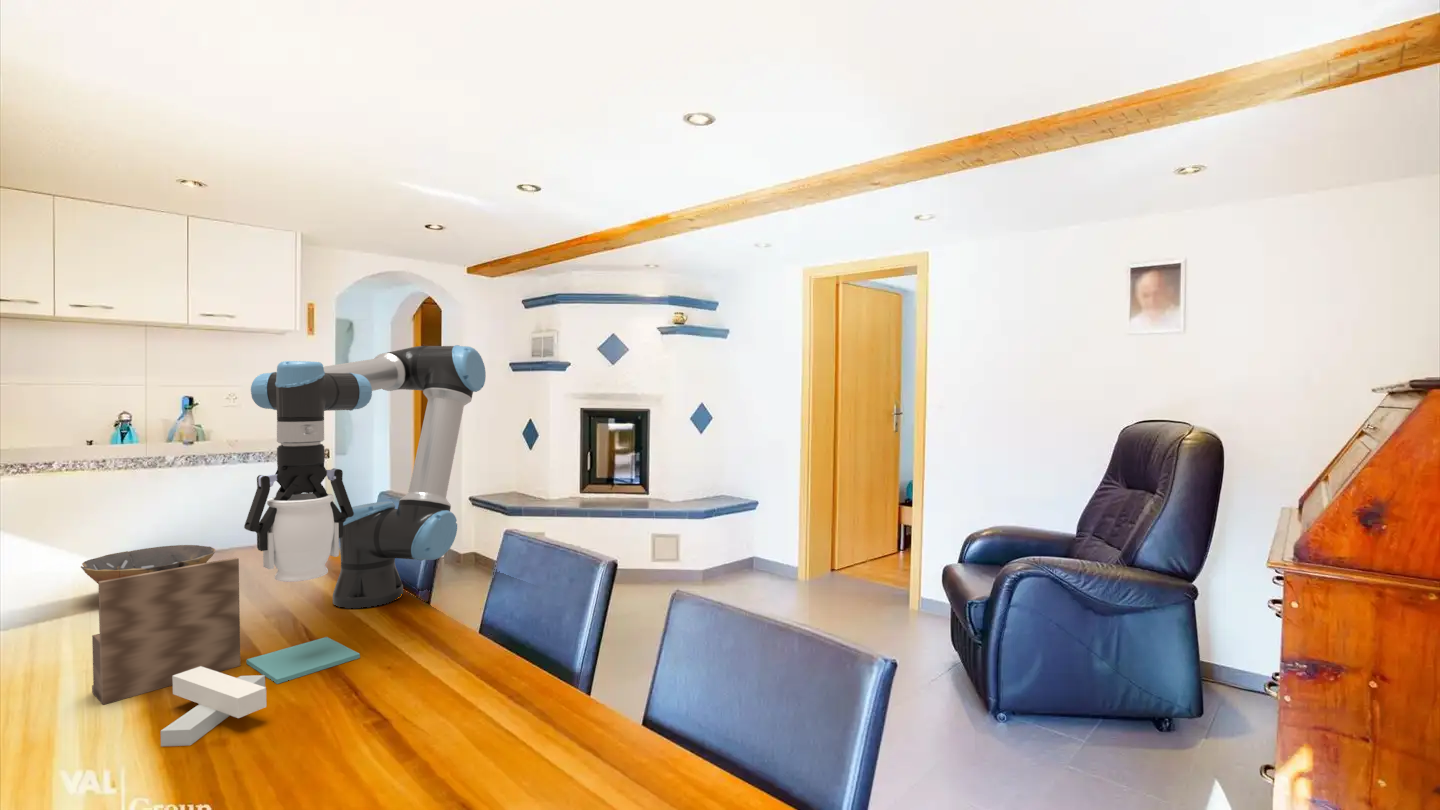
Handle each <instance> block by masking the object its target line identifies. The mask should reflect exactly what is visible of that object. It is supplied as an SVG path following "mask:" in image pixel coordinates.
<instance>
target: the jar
mask: <svg viewBox="0 0 1440 810" xmlns="http://www.w3.org/2000/svg"><path fill="white" fill-rule="evenodd" d="M327 494H328V496H326V497H322V498H317V497H316V496H315V495H314V494H313V493H301V494H297V495H293V494H292V496H291V498H290V499H288V500H287V501H278V500H274V498H275V497H276V496H274V497H270V498H267V501H266V504H267V506H268V507H269V506H270V507H272V508H277V513H276V516H275V520H274V523H273V524H272V526H271V528H270V529H269V532H273V533H274V568H275V569H277V571H276V573H275V575H274V579H275V580H276V581H278V582H286V583H287V582H290V583H291V582H293V583H294V582H304V581H309V580H314V579H317V578H318V579H319V578H321V577H323V576H325V575H327V574H328V573H329V570H328V568H327V566H326V563H327V562H328V560H329V557H330V556H331V555H330V552H331V546H332V540H333V534H334V517H333V511H332V508H331V505H330V502H332V501H333V502H334V497H335V496H334V495H333V494H331V493H327Z"/></svg>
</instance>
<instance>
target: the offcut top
mask: <svg viewBox="0 0 1440 810" xmlns="http://www.w3.org/2000/svg"><path fill="white" fill-rule="evenodd" d="M172 678H173V685H172V695H174V696H177V697H179V698H183V699H185V700H189V701H191V702H192V703H193V702H194V703H197V704H198V705H199V704H201V705H204V706H207V707H209V708H212V709H215V710H217V711H220V712H223V713H225V714H228V715H230V716H231V717H233V718H237V719H240V718H243V717H245V716H247V715H249V714H252V713H255V712H258V711H259V710H260V711H261V710H262V709H264V708H267V687H266V686H265V687H263V686H260V685H257V684H254V683H251V682H248V681H245V680H241V679H238V677H235V676H232V675H228V674H226V673H223V672H221V671H220V672H217V671H214V670H211V669H208V668H205V667H202V666H200V667H197V668H194V669H191V670H188V671H185V672H182V673H179V674H176V675H173V676H172Z"/></svg>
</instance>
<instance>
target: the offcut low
mask: <svg viewBox="0 0 1440 810" xmlns="http://www.w3.org/2000/svg"><path fill="white" fill-rule="evenodd" d="M237 678H238V679H241V680H245V681H248V682H251V683H254V684H257V685H260V686H263V687H266V676H265V675H263V674H261V675H259V674H258V675H257V674H256V675H240V676H238V677H237ZM230 716H231V715H228V714H225V713H223V712H220V711H217V710H215V709H212V708H209V707H207V706H204V705H201V704H198V705H196V706H195V707H193V708H192V709H190V710H189V711H187V712H186V713H184V714H183V715H182V716H180V717H178V718H177V719H176V720H174V721H172V722H171V723H170V724H169V725H167V726H166V727H163V729H161V730H160V747H178V746H179V747H181V746H182V747H183V746H191V745H193V744H194V743H196V742H197V741H198V740H199V739H201V738H203V737H204V736H205V735H206V734H207V733H208V732H210V731H211V730H213V729H214V728H215V727H217V726H218V725H219V724H220V723H222V722H223V721H224V720H226V719H227V718H228V717H230Z"/></svg>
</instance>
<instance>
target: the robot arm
mask: <svg viewBox="0 0 1440 810" xmlns="http://www.w3.org/2000/svg"><path fill="white" fill-rule="evenodd" d="M485 384H486V367H485V362H484V361H483V358H482V355H480V353H479V352H478V351H477V350H476V348H473V347H471V346H468V345H467V346H466V345H465V346H464V345H458V344H456V345H442V346H441V345H429V346H428V345H419V346H411V347H407V348H402V349H398V350H392V351H388V352H383V353H380V354H377V355H376V356H374V358H371V359H365V360H357V361H351V362H344V363H338V364H332V365H325V366H324V365H323V363H322V362H320V361H306V360H303V361H301V360H299V361H298V360H284V361H281V362H279V363H278V364H277V366H276V371H273V372H265V373H261V374H259V375H257V376H256V377H255V378H254V379H253V381H252V382H251V385H250V394H251V398H252V400H253V402H254V403H255V404H256V406H258V407H260V408H262V409H265V410H267V409H268V410H269V409H270V410H273V411H276V442H277V443H279V444H280V445H278V447H276V463H277V464H276V466H277V468H276V469H277V470H276V472H275V474H268V475H263V474H259V475H258V476H257V477H256V491H255V494H254V496H253V499H252V502H251V505H250V509H249V511H248V514H247V517H246V520H245V522H244V526H243V529H244V530H246V531H250V532H253V533H254V532H255V533H256V548H257V550H258V551H260V552H262V563H263V564H262V566H263V568H265V569H267V570H274V569H275V565H274V533H273V532H269V529H270V528H271V526H272V524H273V523H274V520H275V516H276V513H277V508H272V507H270V506H268V508H267V509H266V511H265V513H263V512H264V509H265V506H266V504H267V499H269V498H268V497H269V494H270V491H271V487H273V486H274V483H275V482H277V483H278V485H279V486H280V487H279V489H278V490H277V491H276V494H275V496H274V497H275V498H274V500H278V501H287V500H288V499H290V498H291V496H292V494H293V495H297V494H303V493H313V494H314V495H315V496H316V497H317V498H322V497H326V496H328V494H329V493H328V492H327V489H326V488H325V487H324V485H323V484H322V483H323V481H324V480H325V479H326V477H327V479H328V481H330V484H331V487H332V488H331V489H332V490H333V493H334V497H335V499H336V501H337V504H338V506H337V505H336V504H335V502H334V500H333V501H332V502H330V505H331V508H332V511H333V517H334V534H333V540H332V546H331V552H330V555H329V556H332V557H335V558H336V557H339V556H340V573H339V576H338V578H337V581H336V583H335V587H334V589H333V592H332V604H334V605H336V606H339V607H338V608H340V607H345V608H344V609H351V608H353V609H364V608H363V607H367V608H372V607H371V606H374V607H378V606H377V605H379V606H383V605H382V604H384V605H387V604H390V603H392V602H391V601H393V600H395V599H397V598H398V597H400V596H401V594H403V595H404V585H403V582H402V580H401V576H400V574H399V571H398V568H397V567H396V559H398V560H399V559H400V560H401V559H403V560H414V561H415V560H416V561H419V562H420V561H434V560H438V559H440V558H442V557H443V556H445V554H446V553H447V552H449V551H450V549H451V548H452V546H453V544H454V542H455V539H456V536H457V532H458V523H457V517H456V515H455V514H454V513H453V512H452V511H451V508H452V505H451V504H450V502H449V500H448V499H447V494H448V490H449V489H448V488H449V485H450V478H451V473H452V469H453V464H454V459H455V453H456V447H457V443H458V438H459V433H460V428H461V422H462V417H463V413H464V408H465V406H466V405H468V404H469V403H471V402H472V398H473V394H474V393H476V392H479V391H481V390H482V388H484V386H485ZM377 390H379V391H380V390H384V391H387V392H392V391H397V390H407V391H408V390H409V391H422V394H423V395H424V396H425V398H426V399H427V404H426V408H425V413H424V418H423V422H422V427H421V431H420V437H419V441H418V444H417V445H418V446H417V450H416V455H415V460H414V463H413V467H412V468H413V469H412V474H411V479H410V482H409V483H410V484H409V488H408V492H407V493H406V495H404V496H402V497H401V498H400V499H399V501H398V506H397V508H396V505H395V502H393V501H391V500H390V501H389V500H388V501H387V500H386V501H378V502H370V503H365V504H360V505H354V506H352V503H351V501H350V499H349V496H348V492H347V490H346V487H345V485H344V481H343V474H344V473H343V472H344V471H343V470H342V469H340V468H331V469H326V467H325V459H326V458H325V445H324V443H321V442H324V441H325V411H332V412H333V411H350V412H351V411H353V410H360V409H363V408H365V407H366V406H368V404H369V403H370V401H371V399H372V396H373V392H374V391H377ZM338 507H339V508H338ZM263 514H264V515H263ZM339 545H340V546H339ZM339 550H340V551H339ZM389 602H390V603H389ZM393 602H394V601H393ZM386 603H387V604H386ZM334 605H333V606H334ZM336 606H335V607H336ZM361 607H362V608H361Z"/></svg>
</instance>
